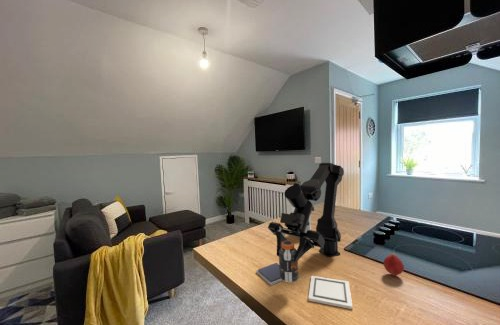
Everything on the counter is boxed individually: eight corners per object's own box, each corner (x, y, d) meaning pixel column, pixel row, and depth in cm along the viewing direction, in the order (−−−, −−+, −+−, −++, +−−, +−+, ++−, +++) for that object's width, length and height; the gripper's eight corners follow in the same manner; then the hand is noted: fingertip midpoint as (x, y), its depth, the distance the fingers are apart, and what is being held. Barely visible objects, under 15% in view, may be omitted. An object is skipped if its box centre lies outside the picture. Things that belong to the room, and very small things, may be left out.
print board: (311, 277, 74) (311, 275, 74) (348, 283, 70) (348, 280, 69) (308, 300, 63) (308, 297, 63) (352, 309, 58) (352, 305, 58)
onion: (380, 271, 76) (379, 249, 76) (396, 270, 76) (395, 249, 75) (390, 280, 70) (390, 257, 70) (408, 280, 70) (407, 257, 70)
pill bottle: (294, 285, 63) (293, 248, 62) (276, 279, 66) (275, 244, 65) (301, 274, 68) (299, 240, 67) (284, 270, 71) (282, 237, 70)
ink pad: (276, 264, 84) (276, 261, 84) (292, 276, 75) (292, 273, 75) (256, 272, 79) (256, 269, 79) (270, 285, 71) (270, 282, 71)
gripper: (269, 199, 75) (250, 240, 67) (319, 206, 62) (303, 257, 55) (282, 215, 81) (266, 254, 73) (330, 224, 69) (317, 272, 61)
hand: (285, 258), depth 65 cm, fingers closed on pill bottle, 6 cm apart
